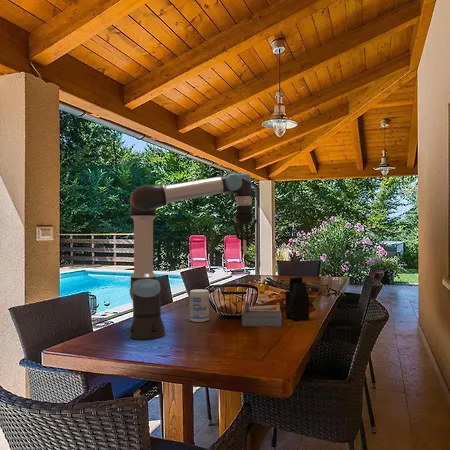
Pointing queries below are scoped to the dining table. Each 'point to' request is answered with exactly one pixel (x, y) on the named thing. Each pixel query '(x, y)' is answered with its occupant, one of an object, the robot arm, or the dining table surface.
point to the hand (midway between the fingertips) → (245, 253)
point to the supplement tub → (199, 305)
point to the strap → (262, 307)
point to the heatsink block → (262, 316)
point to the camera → (297, 300)
